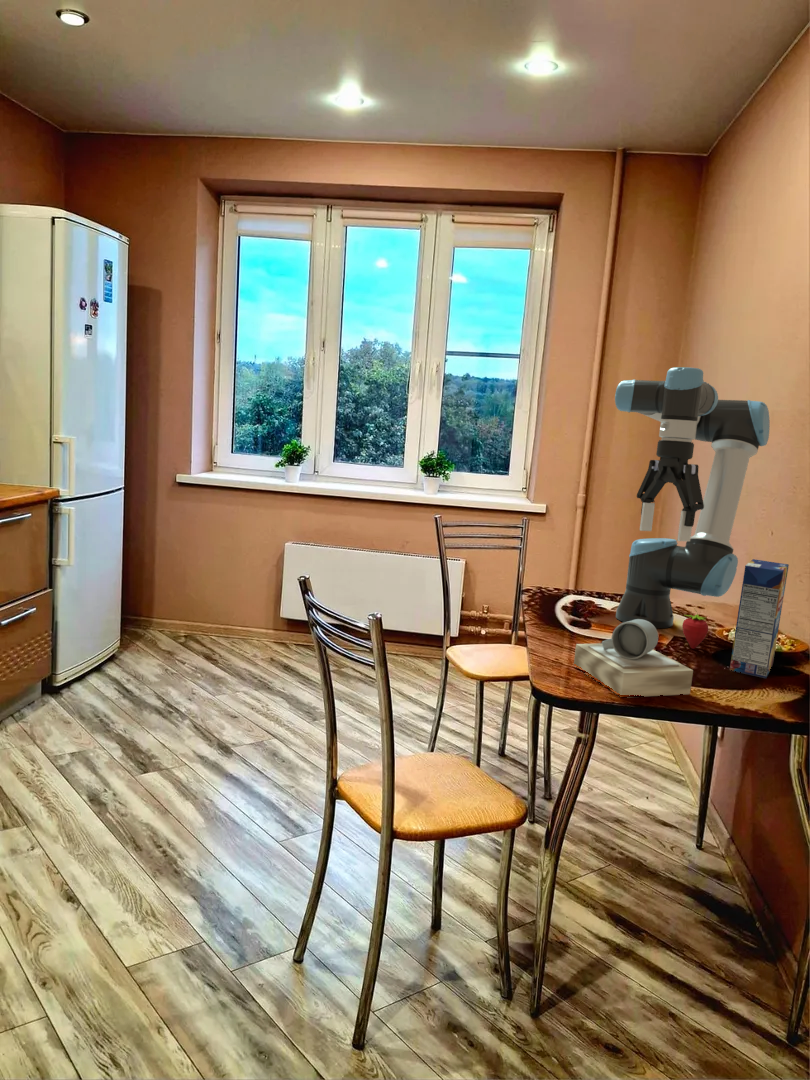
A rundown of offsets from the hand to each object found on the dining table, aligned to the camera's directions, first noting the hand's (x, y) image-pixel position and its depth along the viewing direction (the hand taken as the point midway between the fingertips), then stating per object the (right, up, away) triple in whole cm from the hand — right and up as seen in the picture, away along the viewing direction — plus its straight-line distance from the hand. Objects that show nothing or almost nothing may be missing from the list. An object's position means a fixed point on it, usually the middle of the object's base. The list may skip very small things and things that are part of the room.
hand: (663, 535), depth 161 cm
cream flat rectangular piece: (-11, -30, -11) cm, 34 cm away
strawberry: (+12, -28, +15) cm, 34 cm away
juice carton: (+21, -30, +4) cm, 37 cm away
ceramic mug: (-12, -25, -11) cm, 30 cm away
